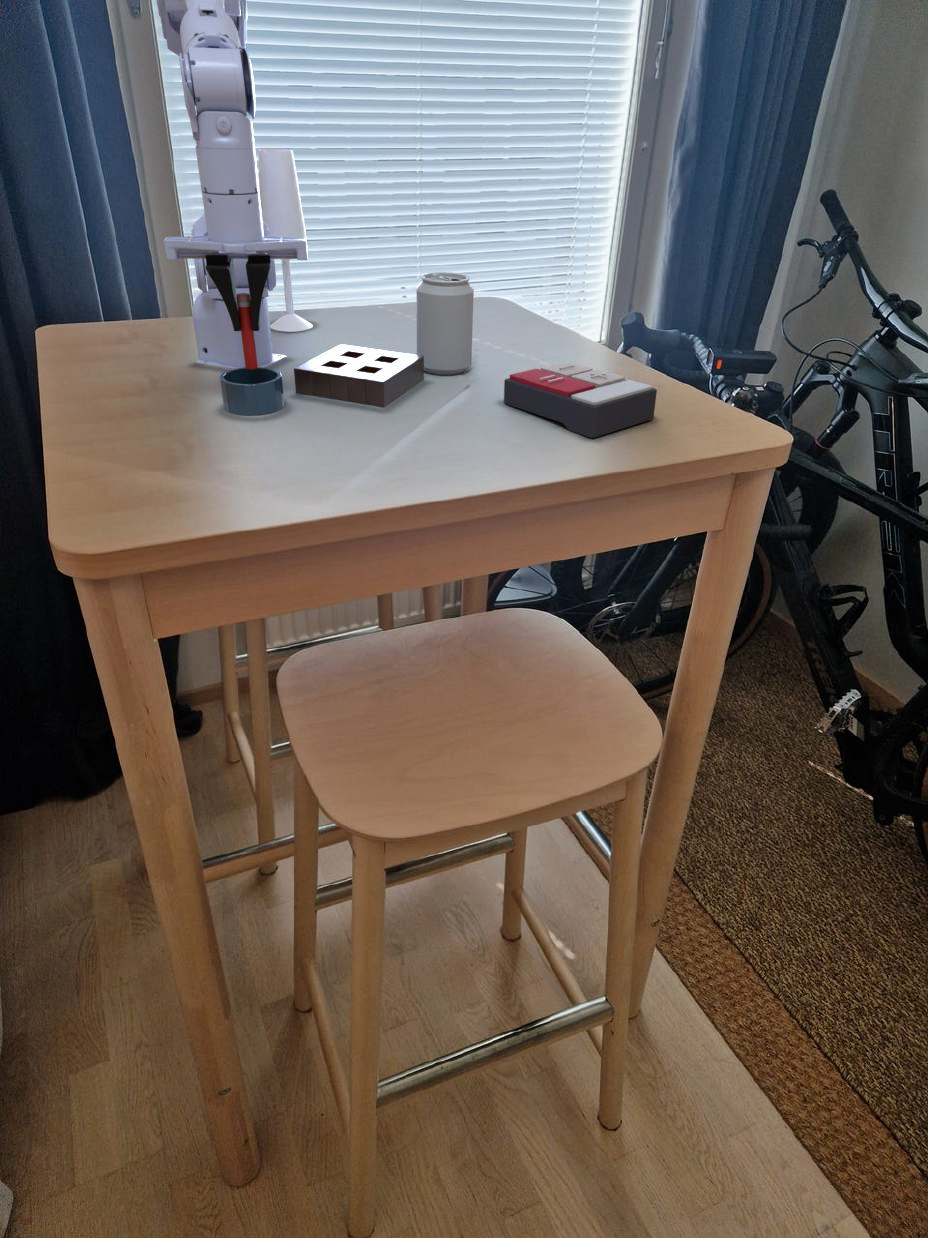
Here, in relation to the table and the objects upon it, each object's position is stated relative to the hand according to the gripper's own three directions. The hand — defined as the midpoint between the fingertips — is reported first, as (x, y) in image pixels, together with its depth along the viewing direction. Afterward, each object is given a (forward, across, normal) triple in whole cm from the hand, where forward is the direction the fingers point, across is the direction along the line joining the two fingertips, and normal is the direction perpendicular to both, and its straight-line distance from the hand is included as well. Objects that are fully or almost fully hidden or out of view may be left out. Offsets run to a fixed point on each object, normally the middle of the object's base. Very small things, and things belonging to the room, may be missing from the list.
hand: (246, 328), depth 89 cm
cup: (+9, 0, 0) cm, 9 cm away
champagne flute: (+9, +3, +38) cm, 39 cm away
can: (+9, +24, +14) cm, 30 cm away
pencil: (+4, 0, 0) cm, 4 cm away
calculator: (+9, +38, -4) cm, 39 cm away
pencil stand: (+9, +13, +6) cm, 17 cm away
